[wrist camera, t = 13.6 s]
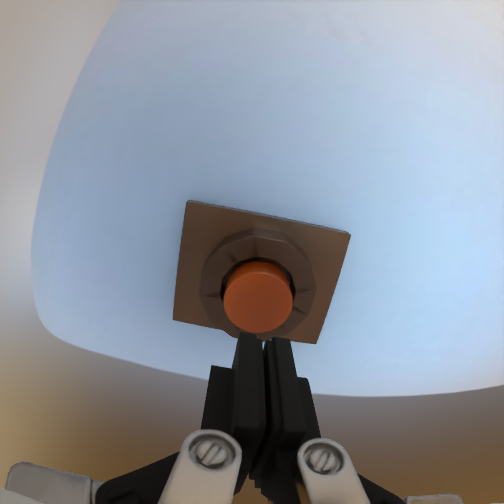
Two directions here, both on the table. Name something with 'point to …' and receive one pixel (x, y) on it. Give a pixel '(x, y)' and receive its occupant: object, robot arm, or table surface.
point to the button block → (256, 249)
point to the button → (258, 297)
